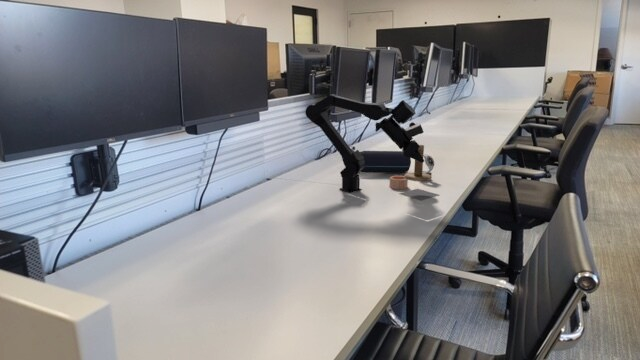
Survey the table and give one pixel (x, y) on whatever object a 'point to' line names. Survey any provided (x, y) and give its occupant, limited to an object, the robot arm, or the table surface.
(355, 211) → the table surface
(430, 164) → the watch
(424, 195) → the mat
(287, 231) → the table surface
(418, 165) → the lid
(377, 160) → the portable speaker
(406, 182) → the bowl
